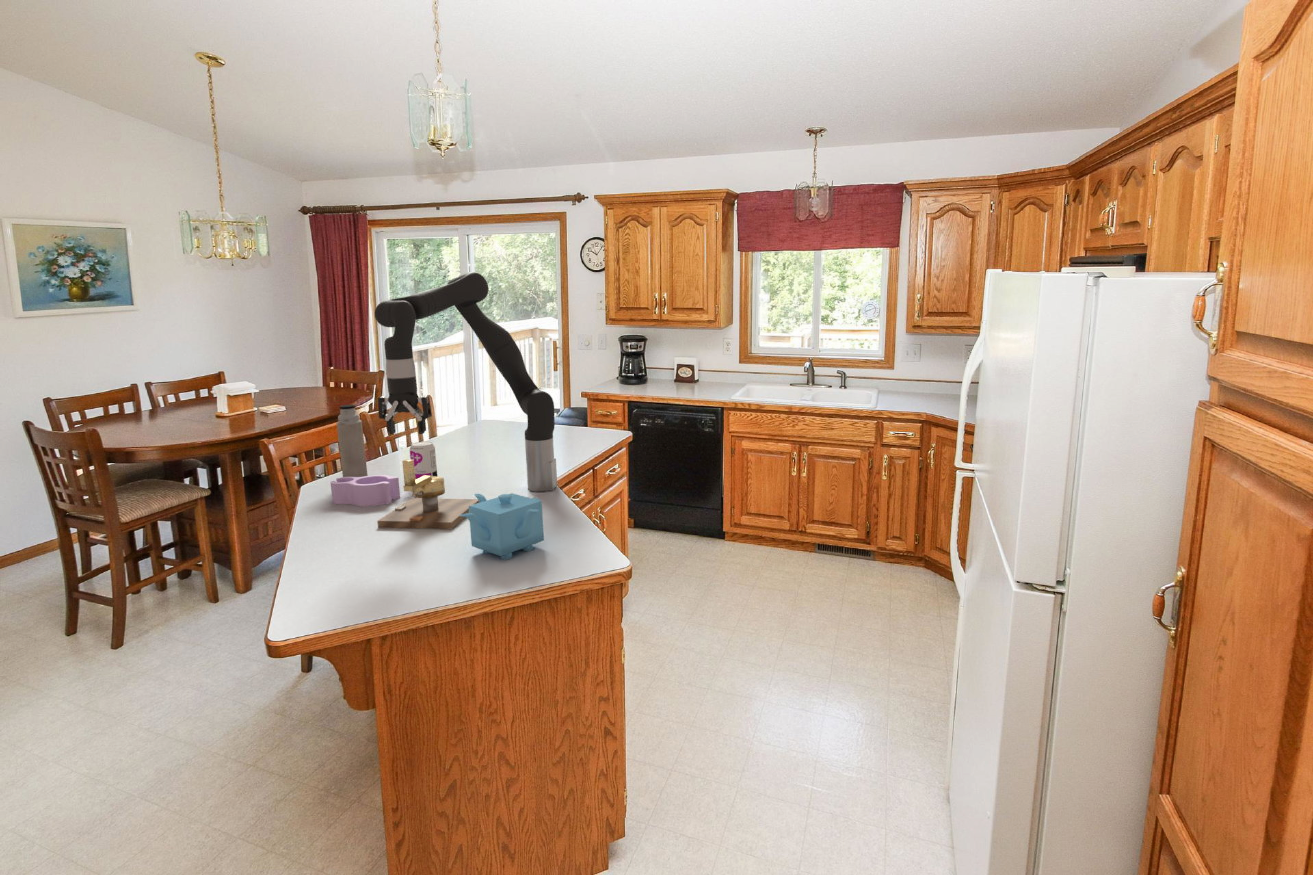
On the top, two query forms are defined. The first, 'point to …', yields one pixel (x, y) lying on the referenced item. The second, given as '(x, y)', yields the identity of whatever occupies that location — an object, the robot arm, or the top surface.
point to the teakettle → (505, 524)
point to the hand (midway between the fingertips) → (407, 433)
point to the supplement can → (423, 459)
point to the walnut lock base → (427, 513)
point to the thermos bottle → (351, 443)
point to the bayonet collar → (421, 482)
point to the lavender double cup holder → (365, 490)
